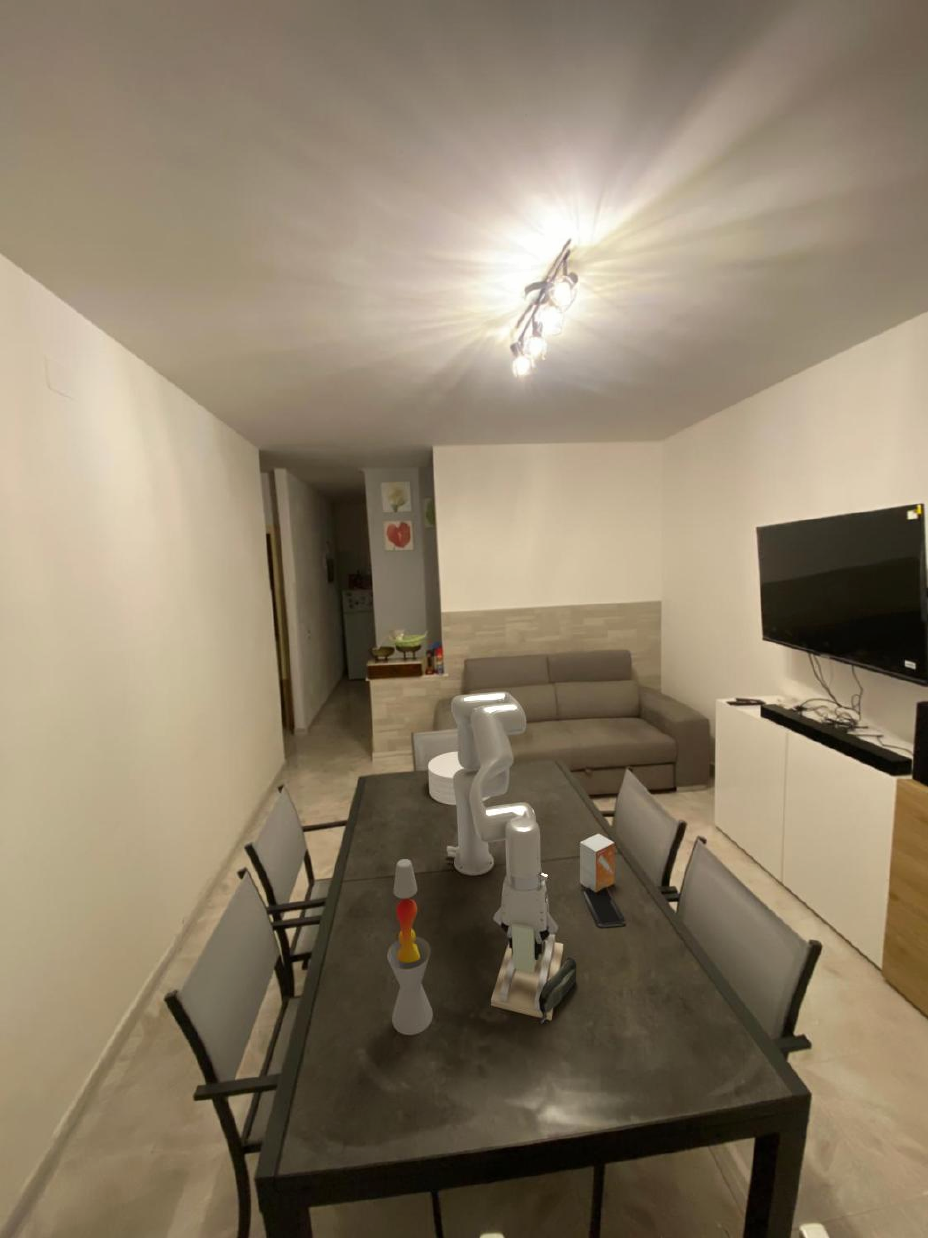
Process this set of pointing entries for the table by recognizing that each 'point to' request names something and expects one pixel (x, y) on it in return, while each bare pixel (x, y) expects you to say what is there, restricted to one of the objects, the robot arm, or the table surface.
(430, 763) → the plate stack
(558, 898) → the table surface
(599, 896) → the phone
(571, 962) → the mobile phone
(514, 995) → the rail board
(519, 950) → the pale green tall block
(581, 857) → the small box
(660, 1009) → the table surface
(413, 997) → the lava lamp
